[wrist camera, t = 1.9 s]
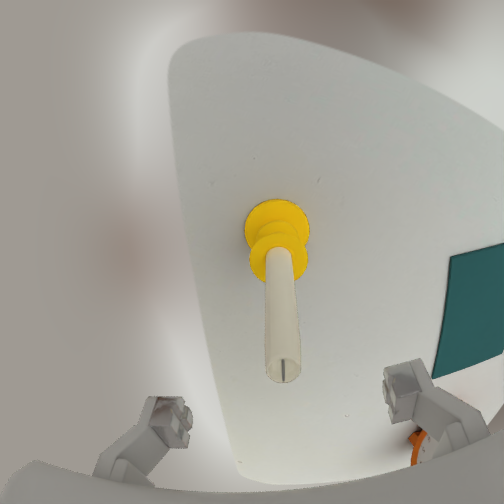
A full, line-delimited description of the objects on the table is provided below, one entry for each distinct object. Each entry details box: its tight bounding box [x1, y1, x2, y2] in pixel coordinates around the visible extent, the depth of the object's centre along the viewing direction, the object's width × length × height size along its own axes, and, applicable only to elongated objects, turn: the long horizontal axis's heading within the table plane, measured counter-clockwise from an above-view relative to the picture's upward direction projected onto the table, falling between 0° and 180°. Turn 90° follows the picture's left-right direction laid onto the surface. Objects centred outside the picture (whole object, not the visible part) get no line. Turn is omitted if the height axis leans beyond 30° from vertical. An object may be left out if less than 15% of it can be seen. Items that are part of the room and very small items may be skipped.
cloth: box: [432, 243, 504, 379], centre depth 29 cm, size 18×12×1 cm, turn 13°
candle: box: [244, 199, 310, 383], centre depth 19 cm, size 5×5×16 cm
